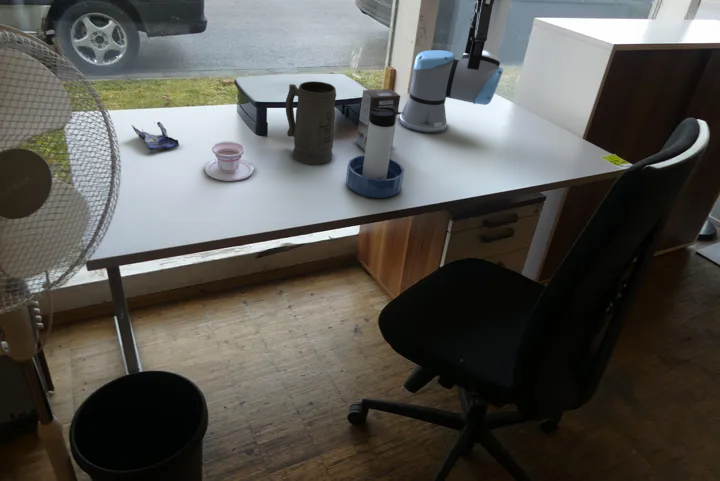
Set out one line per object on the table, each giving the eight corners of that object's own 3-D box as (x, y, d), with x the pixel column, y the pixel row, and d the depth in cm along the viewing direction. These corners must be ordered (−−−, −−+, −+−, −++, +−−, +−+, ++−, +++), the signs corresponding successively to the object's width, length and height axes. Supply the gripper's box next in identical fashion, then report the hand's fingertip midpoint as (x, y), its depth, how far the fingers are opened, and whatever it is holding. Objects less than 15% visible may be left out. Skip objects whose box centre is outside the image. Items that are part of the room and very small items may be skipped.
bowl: (334, 182, 144) (336, 163, 141) (371, 168, 153) (374, 150, 150) (375, 205, 137) (378, 186, 134) (411, 189, 146) (415, 170, 143)
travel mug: (384, 191, 142) (396, 116, 131) (359, 186, 142) (368, 110, 131) (388, 180, 147) (400, 107, 136) (363, 175, 147) (373, 102, 136)
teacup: (201, 161, 145) (200, 139, 142) (247, 158, 150) (247, 137, 146) (209, 183, 136) (208, 160, 133) (258, 179, 141) (258, 157, 137)
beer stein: (341, 155, 158) (343, 84, 148) (323, 169, 150) (324, 94, 139) (293, 144, 163) (292, 74, 153) (273, 156, 155) (271, 84, 144)
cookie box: (365, 151, 162) (372, 97, 153) (355, 142, 167) (361, 89, 158) (392, 148, 166) (401, 95, 157) (382, 139, 171) (389, 87, 162)
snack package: (177, 134, 157) (132, 134, 153) (176, 114, 153) (130, 113, 149) (180, 160, 149) (132, 160, 145) (179, 139, 145) (130, 139, 141)
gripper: (514, -22, 118) (490, 78, 130) (502, -37, 139) (482, 50, 151) (479, -27, 119) (457, 73, 130) (472, -42, 139) (454, 46, 151)
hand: (471, 61), depth 140 cm, fingers open, 13 cm apart
